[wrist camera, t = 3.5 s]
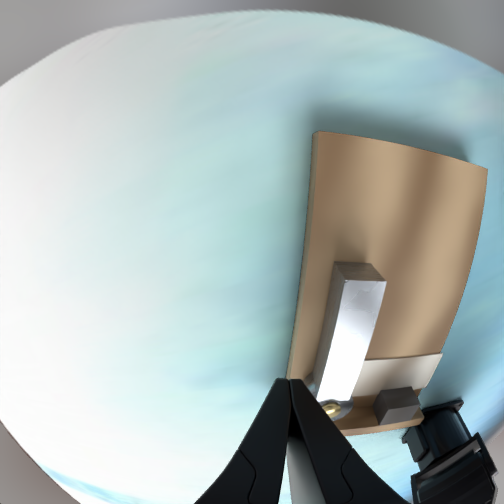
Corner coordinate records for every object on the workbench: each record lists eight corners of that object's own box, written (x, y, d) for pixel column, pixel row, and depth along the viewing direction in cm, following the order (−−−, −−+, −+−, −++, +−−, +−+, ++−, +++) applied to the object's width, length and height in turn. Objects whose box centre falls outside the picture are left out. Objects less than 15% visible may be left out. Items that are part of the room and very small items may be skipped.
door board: (473, 167, 14) (512, 174, 10) (407, 391, 21) (422, 423, 17) (312, 133, 15) (328, 125, 11) (281, 399, 22) (282, 438, 18)
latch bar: (340, 396, 18) (347, 424, 16) (299, 397, 18) (301, 426, 16) (378, 263, 15) (397, 284, 12) (325, 260, 15) (336, 282, 12)
